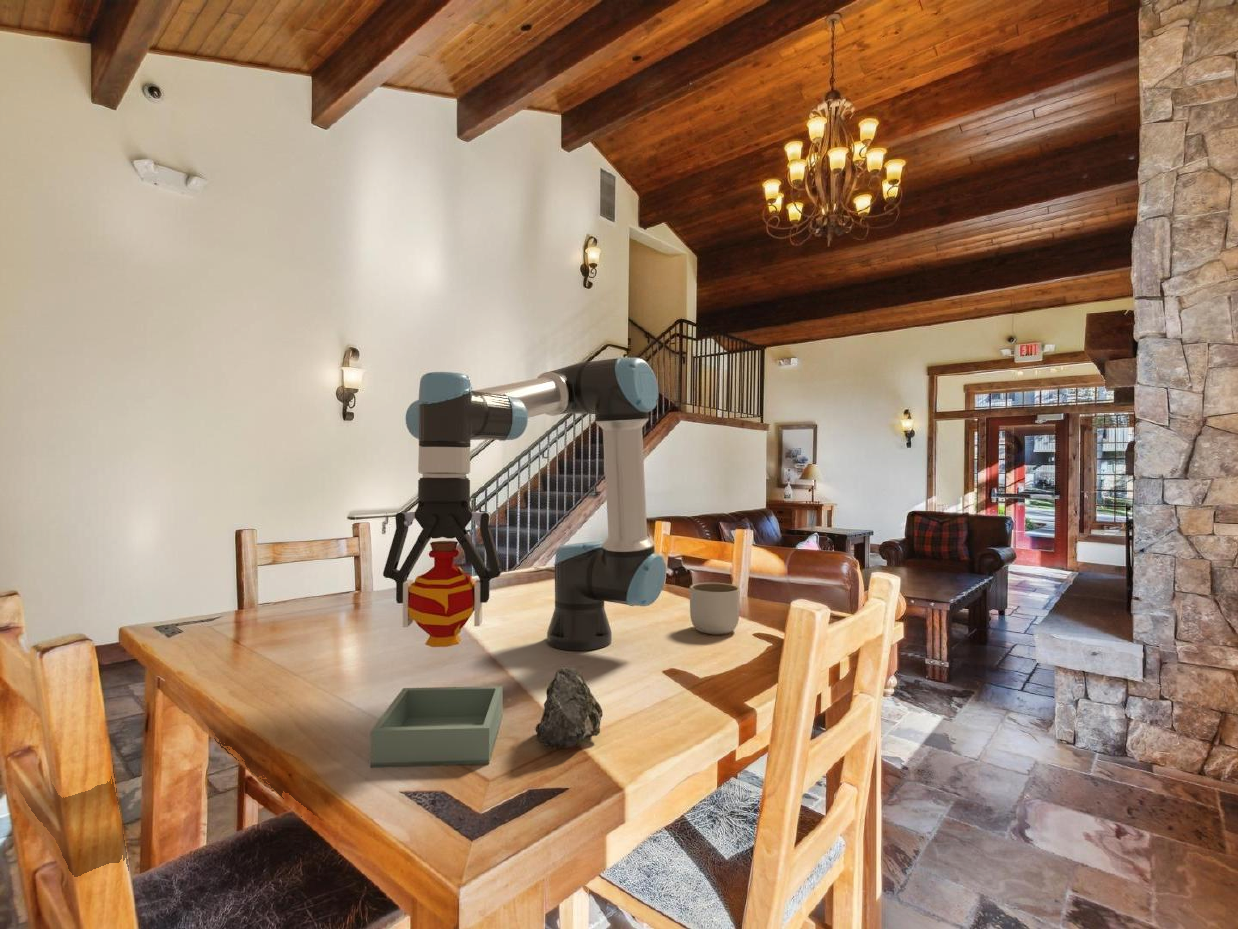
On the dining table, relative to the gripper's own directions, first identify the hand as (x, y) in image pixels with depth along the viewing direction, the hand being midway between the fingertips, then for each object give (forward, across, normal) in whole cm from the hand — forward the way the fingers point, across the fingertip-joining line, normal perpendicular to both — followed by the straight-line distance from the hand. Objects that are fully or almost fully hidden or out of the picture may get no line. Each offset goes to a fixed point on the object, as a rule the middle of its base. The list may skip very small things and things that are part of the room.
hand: (443, 624), depth 92 cm
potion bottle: (+3, 0, 0) cm, 3 cm away
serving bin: (+17, 0, 0) cm, 17 cm away
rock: (+18, -19, +2) cm, 26 cm away
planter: (+17, -55, -58) cm, 82 cm away
